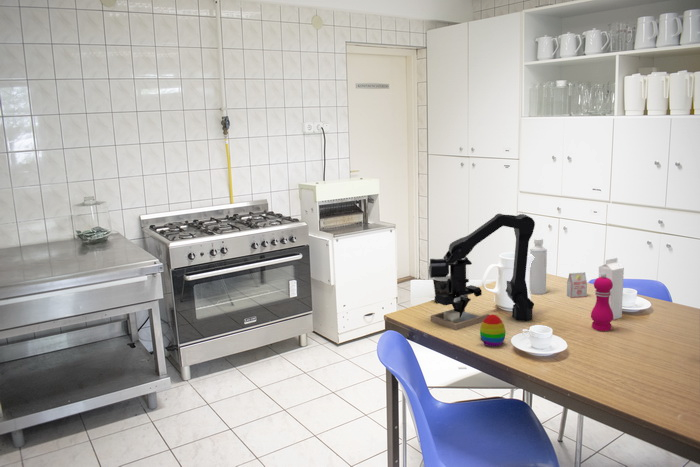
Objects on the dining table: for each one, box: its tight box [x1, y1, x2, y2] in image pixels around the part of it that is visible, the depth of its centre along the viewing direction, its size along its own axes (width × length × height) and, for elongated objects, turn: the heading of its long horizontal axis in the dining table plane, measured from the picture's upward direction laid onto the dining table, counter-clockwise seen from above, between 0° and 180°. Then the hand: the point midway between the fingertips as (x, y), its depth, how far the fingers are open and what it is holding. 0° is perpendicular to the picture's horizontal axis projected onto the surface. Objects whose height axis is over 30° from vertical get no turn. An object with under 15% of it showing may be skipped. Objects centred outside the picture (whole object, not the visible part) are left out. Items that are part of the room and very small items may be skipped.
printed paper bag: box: [566, 272, 588, 299], centre depth 238 cm, size 4×7×10 cm, turn 97°
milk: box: [598, 257, 625, 321], centre depth 210 cm, size 6×6×22 cm
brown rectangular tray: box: [430, 308, 490, 331], centre depth 211 cm, size 13×17×4 cm
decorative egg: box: [479, 314, 506, 347], centre depth 191 cm, size 8×8×10 cm
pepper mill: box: [590, 273, 614, 332], centre depth 199 cm, size 7×7×20 cm
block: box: [443, 309, 460, 323], centre depth 208 cm, size 4×4×4 cm
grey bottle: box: [529, 237, 548, 296], centre depth 244 cm, size 7×7×25 cm
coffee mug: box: [432, 275, 451, 297], centre depth 239 cm, size 12×9×10 cm
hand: (458, 317), depth 210 cm, fingers closed
